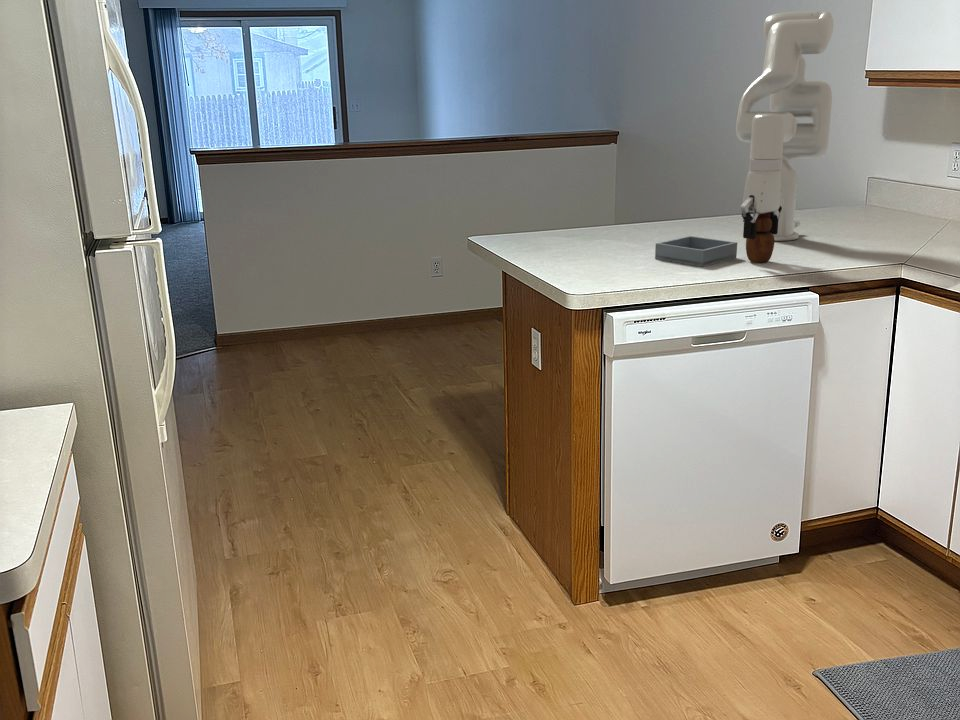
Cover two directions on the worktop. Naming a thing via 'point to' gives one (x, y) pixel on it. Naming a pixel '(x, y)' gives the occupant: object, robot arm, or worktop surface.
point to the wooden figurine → (761, 240)
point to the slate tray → (696, 250)
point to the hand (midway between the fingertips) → (760, 236)
